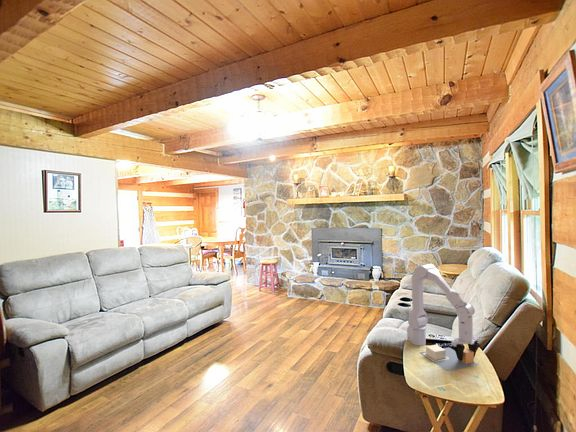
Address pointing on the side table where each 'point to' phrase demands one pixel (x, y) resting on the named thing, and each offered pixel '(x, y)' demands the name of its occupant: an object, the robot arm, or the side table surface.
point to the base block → (435, 352)
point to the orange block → (468, 356)
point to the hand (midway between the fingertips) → (465, 358)
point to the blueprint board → (449, 361)
